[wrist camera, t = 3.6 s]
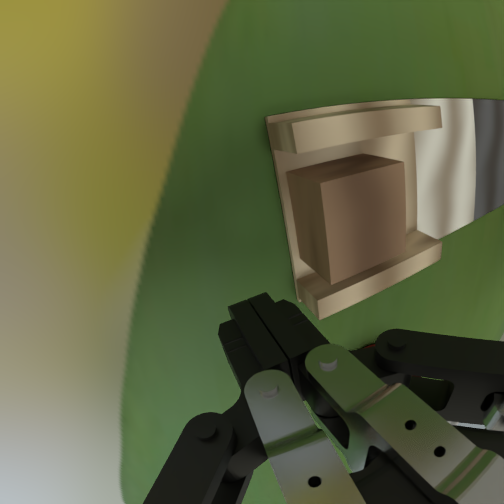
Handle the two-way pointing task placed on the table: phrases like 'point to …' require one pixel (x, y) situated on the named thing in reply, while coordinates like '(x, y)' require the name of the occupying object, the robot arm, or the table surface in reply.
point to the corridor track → (416, 177)
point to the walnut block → (349, 214)
